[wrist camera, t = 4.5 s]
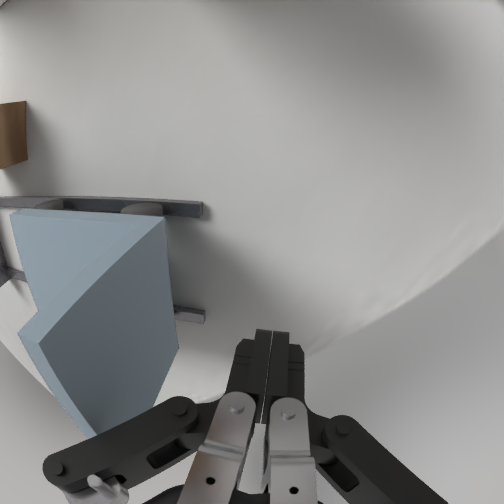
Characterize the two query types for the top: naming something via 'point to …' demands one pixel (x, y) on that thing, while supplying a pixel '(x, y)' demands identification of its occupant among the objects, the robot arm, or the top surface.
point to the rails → (170, 207)
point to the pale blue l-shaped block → (98, 308)
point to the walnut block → (12, 133)
